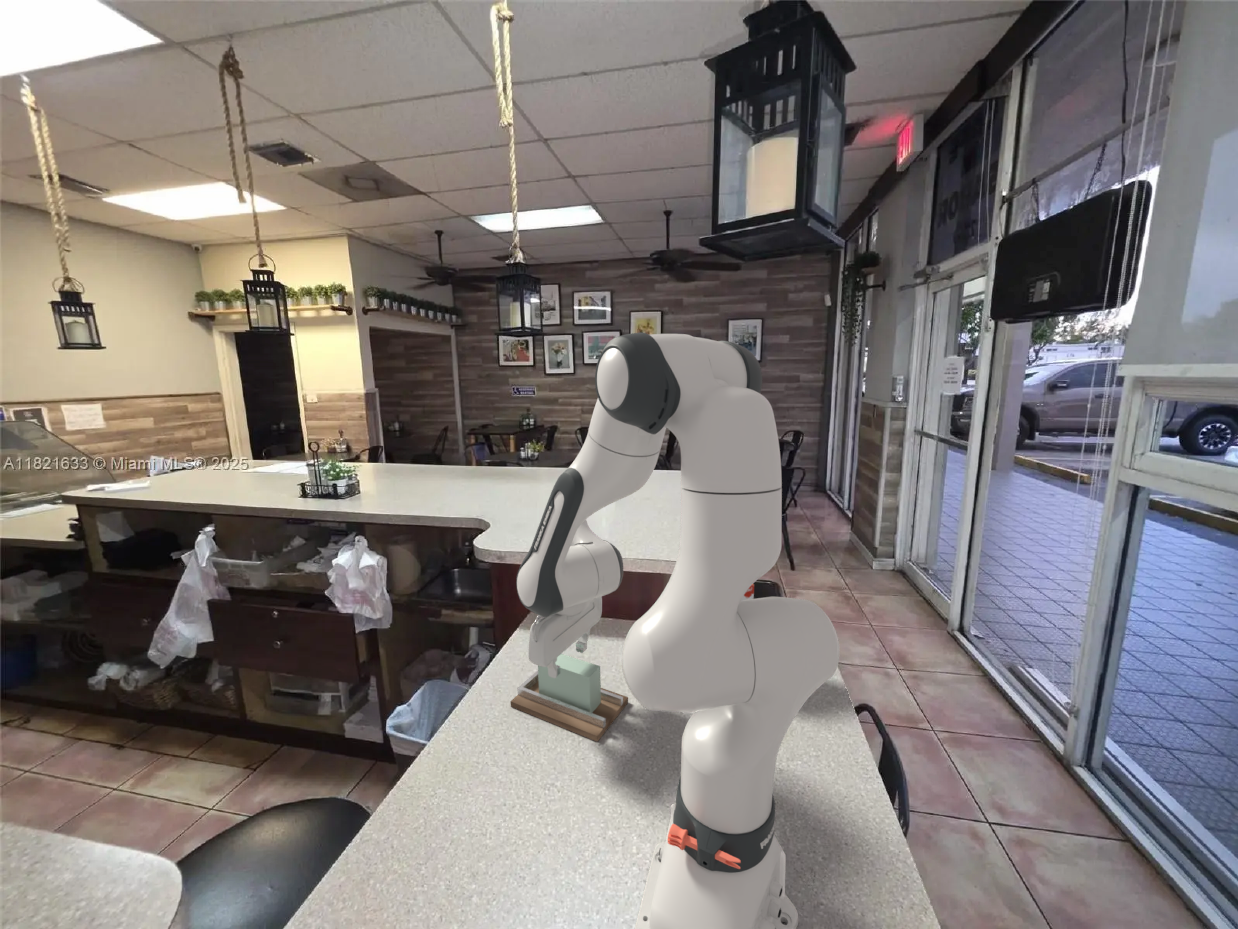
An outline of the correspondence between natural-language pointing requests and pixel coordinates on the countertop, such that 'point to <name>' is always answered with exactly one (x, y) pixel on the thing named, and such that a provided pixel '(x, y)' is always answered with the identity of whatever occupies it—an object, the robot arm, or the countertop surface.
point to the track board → (568, 721)
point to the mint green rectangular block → (572, 683)
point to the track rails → (567, 708)
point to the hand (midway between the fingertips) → (568, 662)
